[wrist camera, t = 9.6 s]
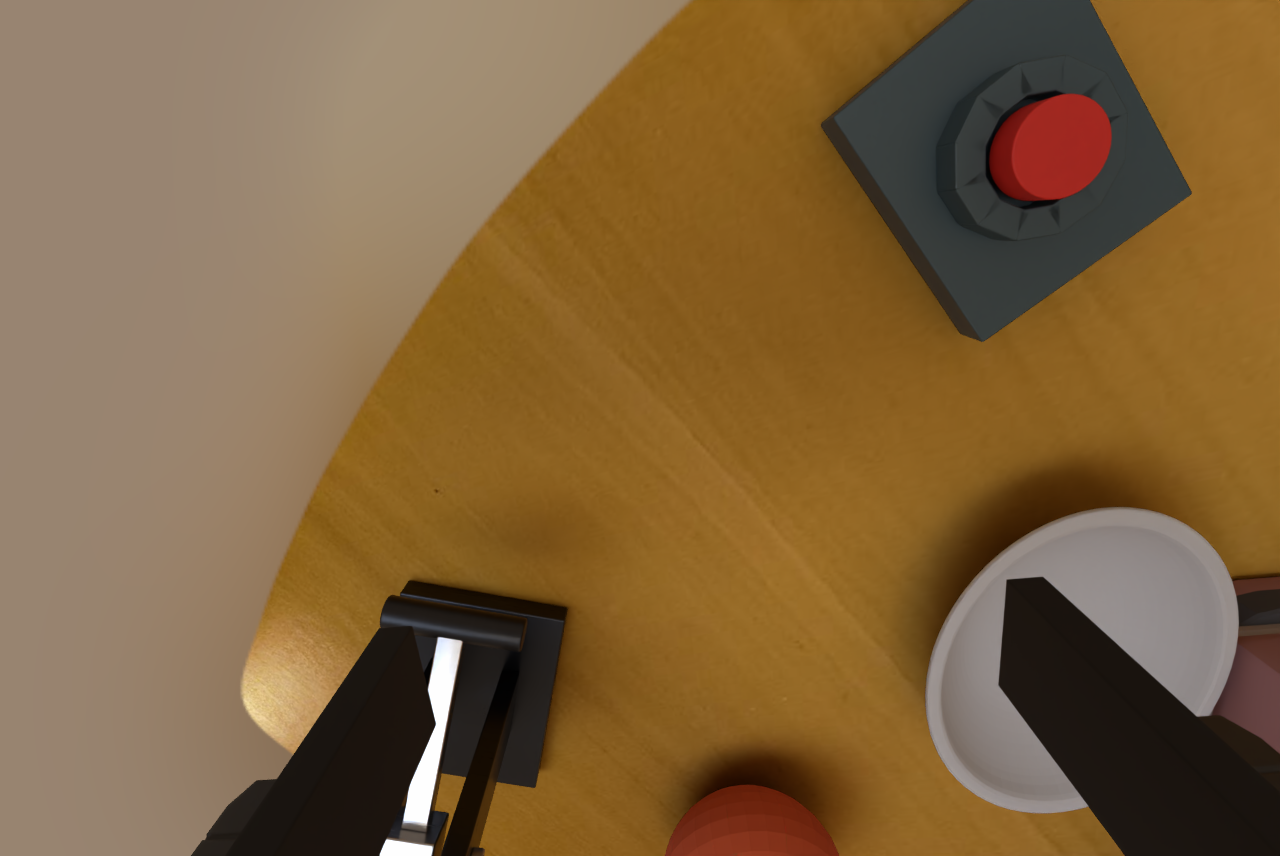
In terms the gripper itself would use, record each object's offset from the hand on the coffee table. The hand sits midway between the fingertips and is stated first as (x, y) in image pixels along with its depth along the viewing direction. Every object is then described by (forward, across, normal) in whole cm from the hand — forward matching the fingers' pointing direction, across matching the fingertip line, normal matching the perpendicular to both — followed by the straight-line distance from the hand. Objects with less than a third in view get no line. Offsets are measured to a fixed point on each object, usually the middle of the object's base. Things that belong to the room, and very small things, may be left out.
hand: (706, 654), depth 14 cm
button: (+15, +15, +10) cm, 24 cm away
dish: (+19, +18, -14) cm, 30 cm away
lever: (+11, -12, -12) cm, 20 cm away
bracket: (+19, -13, -15) cm, 28 cm away
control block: (+19, +15, +10) cm, 26 cm away
